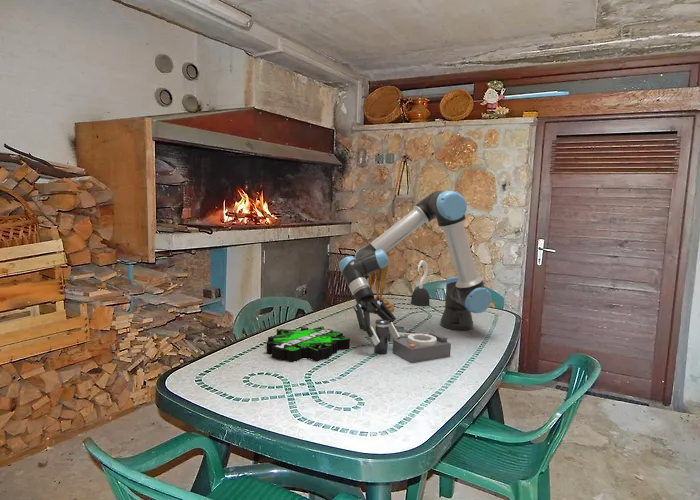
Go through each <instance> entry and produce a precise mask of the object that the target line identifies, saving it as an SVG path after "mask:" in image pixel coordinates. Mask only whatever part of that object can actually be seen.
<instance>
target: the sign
mask: <svg viewBox="0 0 700 500" xmlns="http://www.w3.org/2000/svg"><path fill="white" fill-rule="evenodd" d="M350 343H351V338H350V337H346V336H345V335H344V333H343V332H340V331H335V330H333V329H330V328H324V326H323V325H321V326H318V327H314V328H311V329H309V327H304V326H302V327H300V330H294V329H293V330H292V329H285V328H276V334H275V335H271V336H268V337H267V342H266V351H265V352H266V355H271V358H272V359H273V360H279V361H283V362H284V361H287V362H289V363H295V362H294V361H296V362H298V361H301V360H302V359H301V358H307V359H309V358H310V360H311V359H312V360H311V361H313V362H316V361H317V363H319V362H320V361H323V360H324V359H325V360H327V359H328V360H329V359H330V357H331V356H333V355H335V354H337V353H338V351H344V350H346V351H347V350H350V349H351V348H350V346H351V345H350ZM300 359H301V360H300ZM297 360H298V361H297ZM318 361H319V362H318Z"/></svg>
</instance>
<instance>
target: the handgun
mask: <svg viewBox="0 0 700 500" xmlns="http://www.w3.org/2000/svg"><path fill="white" fill-rule="evenodd" d="M395 326H396V325H395ZM396 328H397V332H398V334H399V336H400V337H399V338H398V339H401V338H408V335H410V334H416V333H419V334H428V335H429V333H430V332H428V333H426V332H418V331H416V332H415V331H408V330H407V329H405V327H404V326H396ZM393 340H394V338H393V336H392V334H391V332H390V330H389V331H388V342H390V343H393Z"/></svg>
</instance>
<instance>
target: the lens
mask: <svg viewBox="0 0 700 500" xmlns="http://www.w3.org/2000/svg"><path fill="white" fill-rule="evenodd" d="M374 325H375V329H374V331H375V333H376V335H377V337H378V339H379V341H380V342H379V343H378V344H377V345H374V347H373V348H374V351H373V352H374V353H375V354H377V355H386V354H388V347H389V346H388V345H389V341H388V331H389V321H387V320H383V319H376V320H375V323H374Z"/></svg>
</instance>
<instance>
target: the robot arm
mask: <svg viewBox="0 0 700 500" xmlns="http://www.w3.org/2000/svg"><path fill="white" fill-rule="evenodd" d="M467 204H468V203H467V202H466V199H465V197H464V195H462V194H461V193H459V192H458V191H455V190H454V191H453V190H436V191H433V192H431V193H429V194H428V195H427V196H425V197H423V199H421V200H420V201H419V202H417V203H416V204H415V205H414V206H413V209H412V210H411V211H410V212H408V213H407V214H406V215H405V216H403V217H402V218H401V219H399V220H398V221H397V222H396V223H394V224H392V226H391V227H389V228H388V229H387V230H385V231H383V234H381V235H380V236H379V237H377V238H375V239H374V240H373V241H371V242H370V243H368V244H367V245H365V246H364V247H361V248H358V249H357V250H356V252H355V253H354V256H352V255H348V256H346V257H343V258H341V260H340V261H339V263H338V268H339V270H340V273H341V275H342V277H343V278H344V280H345V282H346V284H347V286H348V288H349V289H350V290H349V291H350V292H351V294H352V295H353V299H354V300H355V303H356V304H355V305H354V306H353V311H354V312H355V314H356V318H357V322H358V326H359V329H360V330H363V332H366V333H367V335H368V337H369V338H370V339H371V341H372V343H373V345H374V346H375V345H377V344H378V343H379V342H380V341H379V339H378V337H377V335H376V333H375V329H374V327H373V326H371V318H370V317H371V315H370V314H371V313H370V312H374V313H373V314H375V315H377V316H378V317H379V318H380V319H381V320H387V321H389V330H390V332H391V334H392V336H393V338H394V339H398V338H399V337H400V336H399V334H398V332H397V328H396V325H395V323H394V322H395V321H396V320H397V318H396V316H395V315H394V314H393V312H390V310H389V309H388V308H387V307H386V305H385V304H384V302H383V300H382V299H383V298H381V300H380V301H377V300H375V298H376V297H375V293H374V291H373V290H371V288H369V287H370V286H369V281H367V279H366V276H369V274H370V273H372V272H375V271H377V270H379V269H382V268H384V267H386V266H387V265H388V266H389V264H390V263H389V258H388V254H387V251H389V250H390V251H391V250H392V247H395V246H396V245H398V244H399V243H400V242H401V241H403V240H405V238H407V237H408V236H409V235H411V234H412V233H414V231H417V229H418V228H420V227H421V226H422V225H424V224H428V223H430V222H431V221H433V220H436V222H437V225H438V227H439V228H441V229H443V232H444V236H445V240H446V243H447V247H448V251H449V253H450V257H451V261H452V264H453V267H454V273H455V276H452V277H451V276H450V277H448V278H447V279H446V283H445V286H446V287H445V299H444V300H445V302H444V303H445V304H444V310H443V312H442V315H441V317H440V321H439V325H440V326H441V327H442V328H446V329H450V330H454V331H455V330H456V331H470V330H472V329H474V320H473V316H472V313H473V314H481V313H484V312H485V311H486V310H487V309H489V307H490V306H491V303H492V301H493V300H492V299H493V298H492V294H491V292H490V291H489V289H487V288H486V286H485V285H484V284H485V283H484V280H483V278H482V277H481V276H479V275H478V271H477V269H476V264H475V261H474V258H473V254H472V253H473V252H472V251H471V250H472V249H471V247H470V243H469V239H468V235H467V232H466V228H465V225H464V223H465V221H466V219H467V217H466V211H467ZM375 273H376V272H375ZM376 309H377V310H376Z"/></svg>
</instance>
